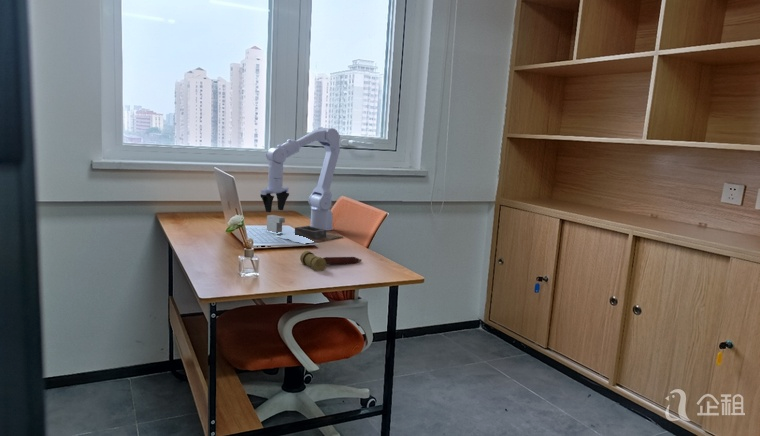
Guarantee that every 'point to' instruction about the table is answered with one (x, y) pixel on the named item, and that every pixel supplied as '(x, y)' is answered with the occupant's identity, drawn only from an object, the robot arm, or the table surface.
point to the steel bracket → (275, 223)
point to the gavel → (325, 261)
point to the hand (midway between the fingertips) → (274, 210)
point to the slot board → (315, 234)
